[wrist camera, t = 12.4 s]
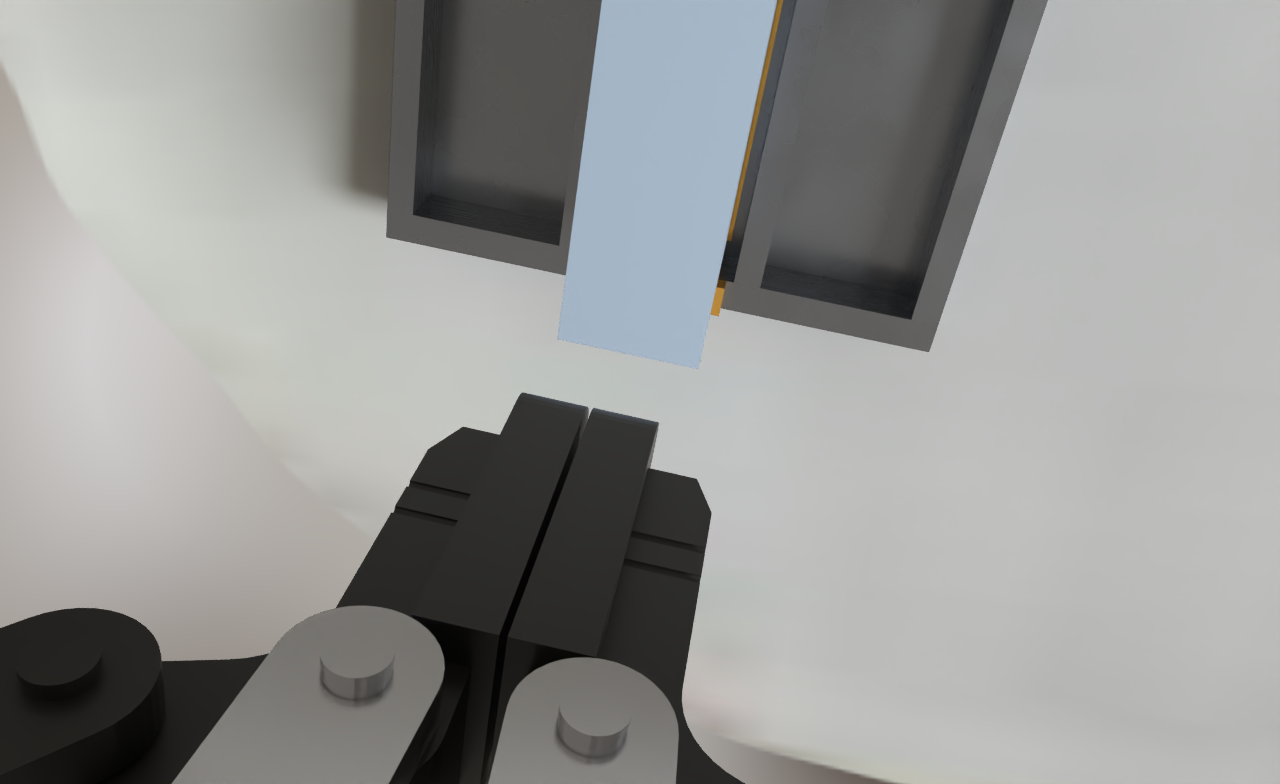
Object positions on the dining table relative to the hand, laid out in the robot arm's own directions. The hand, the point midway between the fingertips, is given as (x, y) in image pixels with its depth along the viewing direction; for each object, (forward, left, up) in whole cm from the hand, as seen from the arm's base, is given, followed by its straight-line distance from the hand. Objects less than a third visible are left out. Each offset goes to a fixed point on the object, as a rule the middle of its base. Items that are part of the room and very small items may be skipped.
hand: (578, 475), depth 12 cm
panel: (0, -1, -18) cm, 18 cm away
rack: (0, -1, -19) cm, 19 cm away
